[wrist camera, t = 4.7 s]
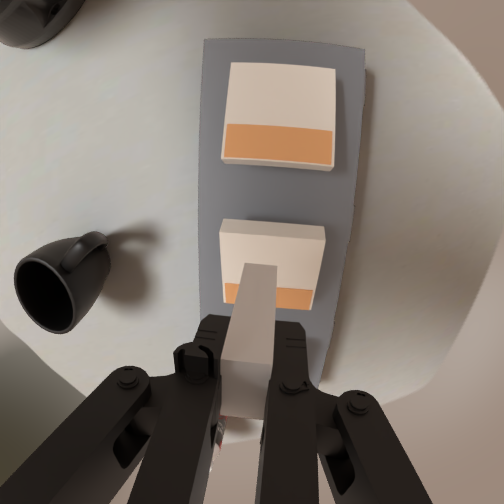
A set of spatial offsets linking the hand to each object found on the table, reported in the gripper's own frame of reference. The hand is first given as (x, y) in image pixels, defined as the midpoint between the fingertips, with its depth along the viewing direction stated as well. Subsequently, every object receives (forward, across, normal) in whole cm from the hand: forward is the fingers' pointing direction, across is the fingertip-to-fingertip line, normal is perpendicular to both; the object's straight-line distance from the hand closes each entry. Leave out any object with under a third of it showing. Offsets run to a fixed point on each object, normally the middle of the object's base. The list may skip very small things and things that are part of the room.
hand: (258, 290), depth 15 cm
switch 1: (+10, 0, +8) cm, 13 cm away
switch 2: (+10, 0, -2) cm, 10 cm away
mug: (+16, -18, -6) cm, 25 cm away
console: (+16, +1, -3) cm, 16 cm away
